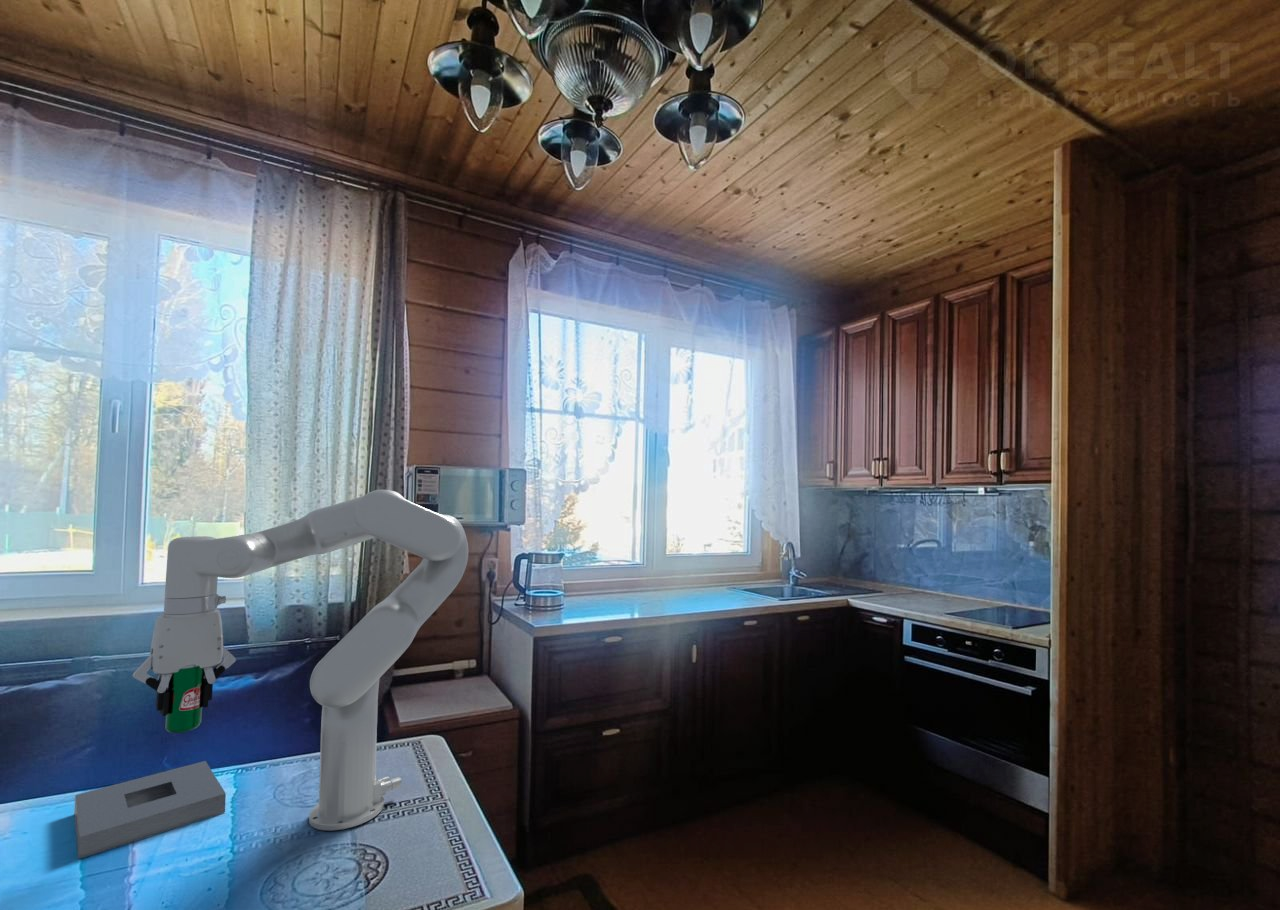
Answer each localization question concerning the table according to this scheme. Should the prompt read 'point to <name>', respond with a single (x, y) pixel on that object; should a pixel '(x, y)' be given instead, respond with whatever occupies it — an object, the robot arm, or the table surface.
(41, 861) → the table surface
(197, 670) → the soda can
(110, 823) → the bore block
